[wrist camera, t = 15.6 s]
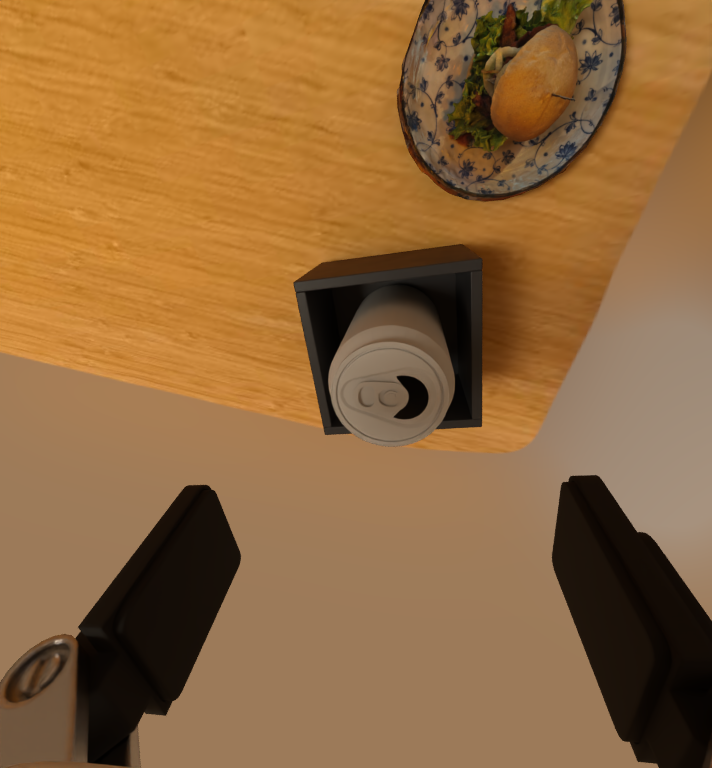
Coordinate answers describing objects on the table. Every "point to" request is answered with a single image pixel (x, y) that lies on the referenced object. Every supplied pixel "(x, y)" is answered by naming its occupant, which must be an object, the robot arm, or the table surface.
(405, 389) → the beverage can
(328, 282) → the bin
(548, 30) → the burger on plate
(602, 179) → the table surface
